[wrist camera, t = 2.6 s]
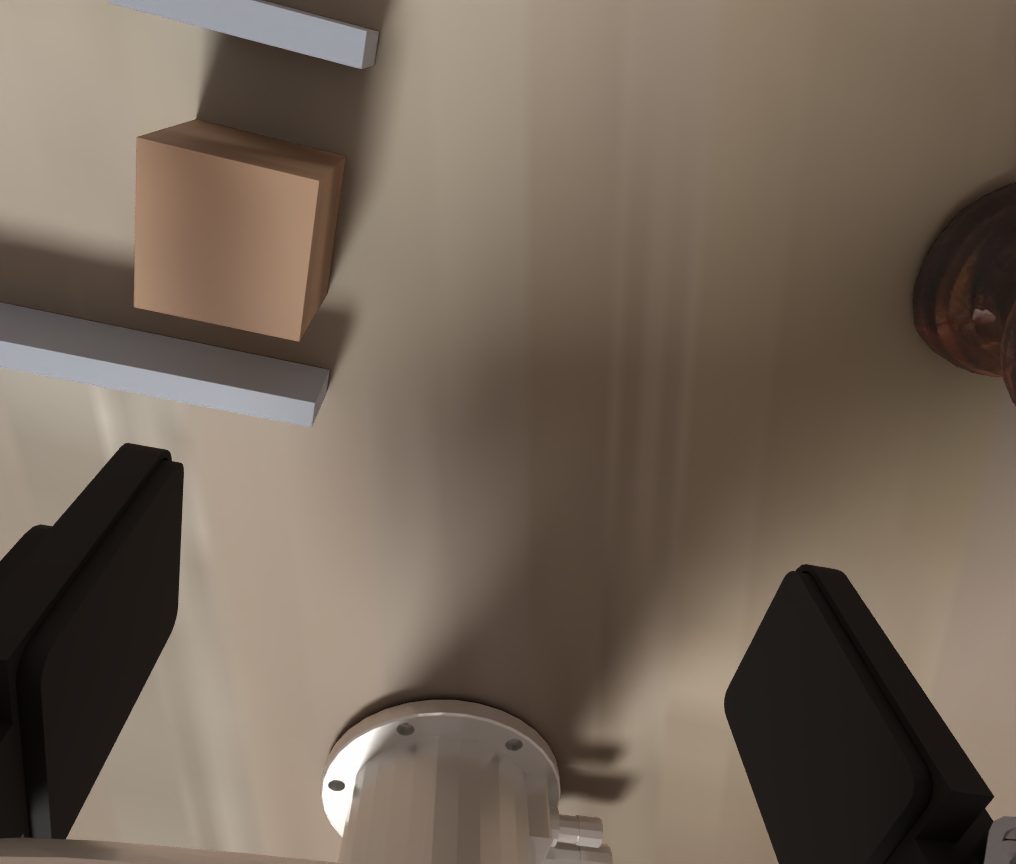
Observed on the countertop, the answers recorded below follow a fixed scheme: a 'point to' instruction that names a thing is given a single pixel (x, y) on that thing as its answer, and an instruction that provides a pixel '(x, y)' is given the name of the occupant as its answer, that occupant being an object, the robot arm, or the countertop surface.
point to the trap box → (170, 361)
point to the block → (234, 227)
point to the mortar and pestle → (973, 289)
